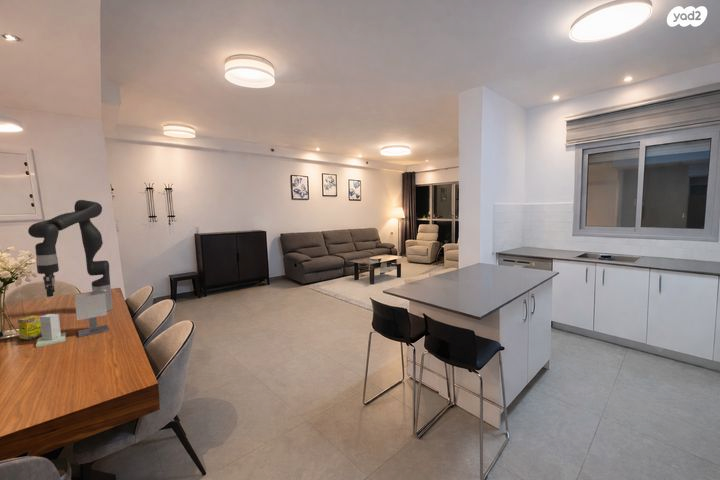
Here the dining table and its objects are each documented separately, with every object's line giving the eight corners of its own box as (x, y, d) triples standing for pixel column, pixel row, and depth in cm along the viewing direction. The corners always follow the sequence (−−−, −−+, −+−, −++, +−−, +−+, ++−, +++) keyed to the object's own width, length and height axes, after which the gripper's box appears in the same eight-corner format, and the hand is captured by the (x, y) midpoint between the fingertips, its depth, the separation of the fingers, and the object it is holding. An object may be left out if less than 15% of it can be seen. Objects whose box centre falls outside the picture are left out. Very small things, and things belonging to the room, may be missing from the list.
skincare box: (61, 336, 154) (59, 314, 153) (52, 340, 150) (49, 317, 149) (51, 336, 155) (48, 313, 154) (41, 339, 151) (38, 316, 150)
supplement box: (28, 340, 152) (25, 320, 151) (19, 339, 153) (17, 319, 152) (42, 336, 158) (40, 316, 157) (34, 335, 159) (31, 315, 158)
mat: (38, 340, 153) (38, 337, 153) (65, 334, 160) (65, 332, 160) (36, 347, 145) (36, 344, 145) (65, 341, 152) (64, 338, 152)
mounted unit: (78, 332, 163) (74, 294, 160) (107, 326, 171) (104, 290, 169) (78, 337, 156) (74, 297, 154) (108, 331, 165) (105, 293, 162)
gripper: (38, 262, 153) (41, 292, 155) (34, 266, 143) (38, 299, 145) (58, 260, 158) (62, 290, 160) (57, 264, 148) (60, 296, 150)
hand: (51, 294), depth 152 cm, fingers open, 8 cm apart
